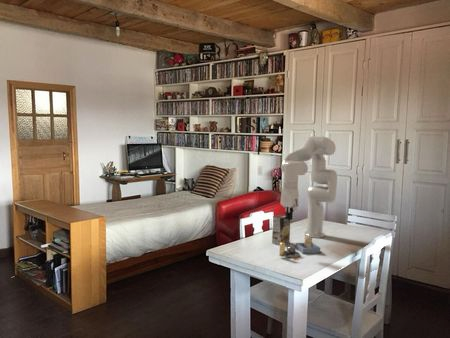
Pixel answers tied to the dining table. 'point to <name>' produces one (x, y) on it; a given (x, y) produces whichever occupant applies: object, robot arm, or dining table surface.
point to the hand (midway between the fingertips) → (288, 219)
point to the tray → (307, 250)
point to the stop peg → (308, 242)
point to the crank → (289, 249)
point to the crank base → (293, 255)
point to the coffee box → (281, 229)
